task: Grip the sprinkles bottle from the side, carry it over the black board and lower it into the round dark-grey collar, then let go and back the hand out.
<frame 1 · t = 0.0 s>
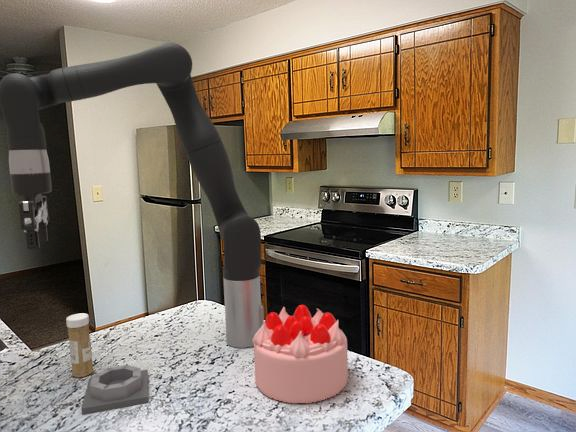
hand: (38, 245, 99), 29 cm above the worktop, tool pointing down, fingers open, 8 cm apart
barrel socket: (117, 392, 92), on the worktop
cake: (300, 380, 96), on the worktop
sprinkles bottle: (83, 374, 101), on the worktop
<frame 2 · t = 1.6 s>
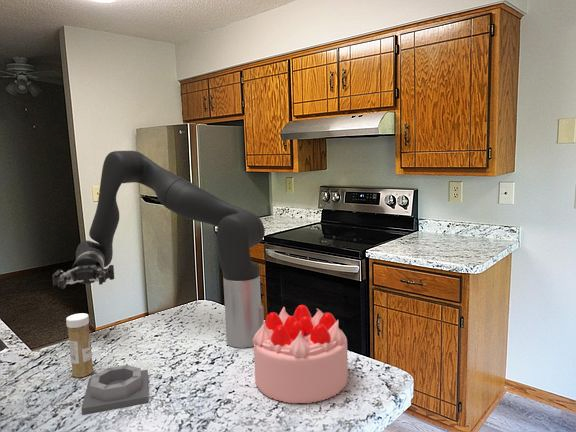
hand: (81, 282, 109), 18 cm above the worktop, tool horizontal, fingers open, 8 cm apart
nothing on the worktop moved.
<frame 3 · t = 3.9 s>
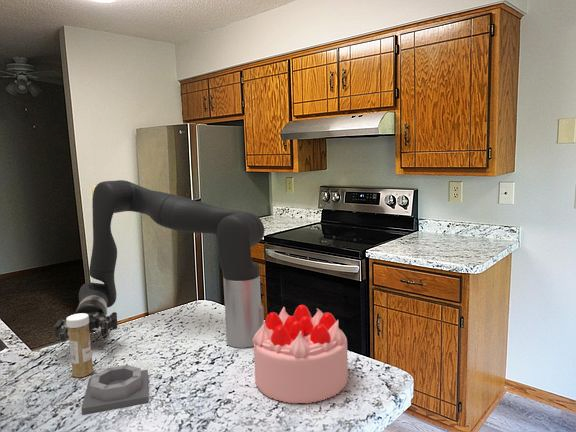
hand: (83, 335, 105), 7 cm above the worktop, tool horizontal, fingers open, 8 cm apart
nothing on the worktop moved.
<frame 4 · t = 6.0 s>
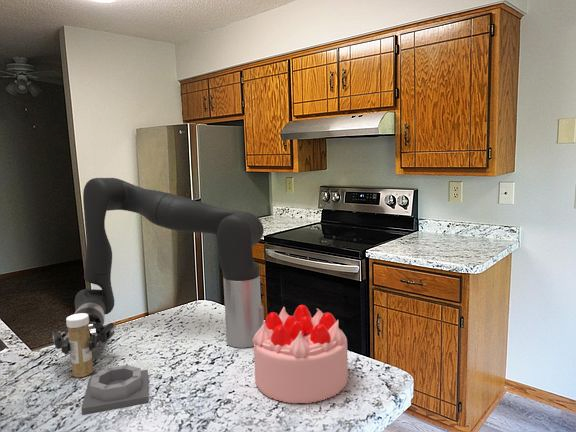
hand: (78, 348, 98), 7 cm above the worktop, tool horizontal, fingers closed on sprinkles bottle, 4 cm apart
sprinkles bottle: (83, 373, 101), on the worktop, touching gripper
everything else where it was.
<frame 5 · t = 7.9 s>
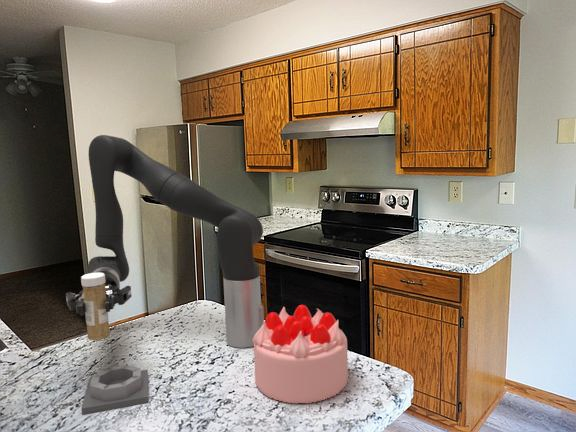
hand: (94, 308, 91), 18 cm above the worktop, tool horizontal, fingers closed on sprinkles bottle, 4 cm apart
sprinkles bottle: (98, 337, 95), point 10 cm above the worktop, touching gripper
everything else where it was.
when the fingers open (9 cm above the worktop, at t = 10.0 s): sprinkles bottle stays where it is, resting on barrel socket.
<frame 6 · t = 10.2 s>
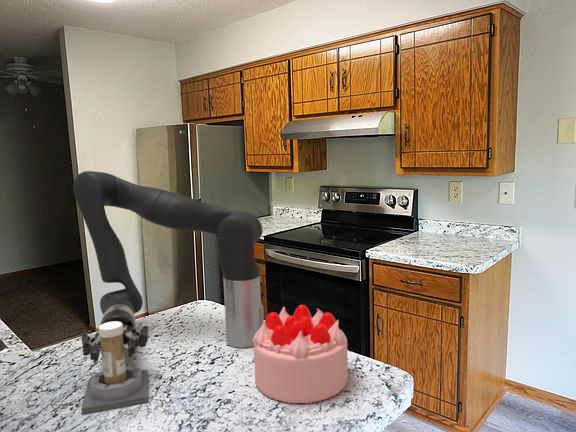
hand: (113, 354, 89), 9 cm above the worktop, tool horizontal, fingers open, 6 cm apart
sprinkles bottle: (116, 388, 92), point 1 cm above the worktop, touching barrel socket
everything else where it was.
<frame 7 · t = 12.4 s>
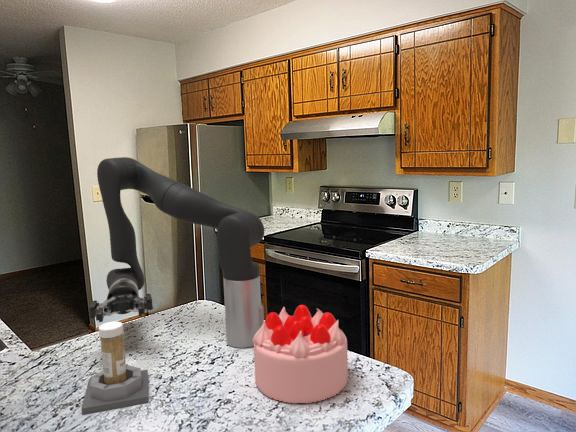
hand: (120, 315, 102), 12 cm above the worktop, tool horizontal, fingers open, 8 cm apart
nothing on the worktop moved.
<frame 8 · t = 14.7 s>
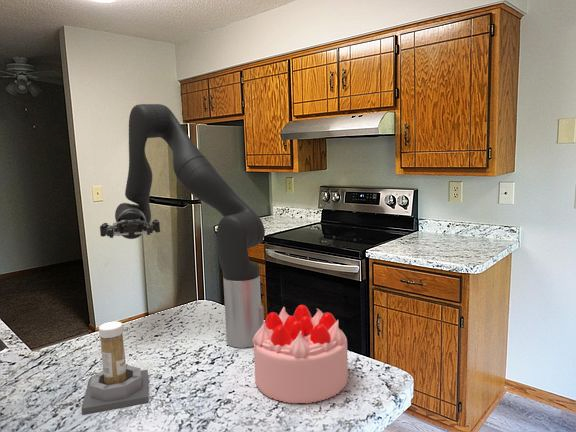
hand: (129, 232, 108), 30 cm above the worktop, tool horizontal, fingers open, 8 cm apart
nothing on the worktop moved.
at the end: sprinkles bottle 0.2 cm off-centre on the barrel socket, point 1.0 cm above the barrel socket's base; sprinkles bottle tilted 0°; the gripper is holding nothing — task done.
